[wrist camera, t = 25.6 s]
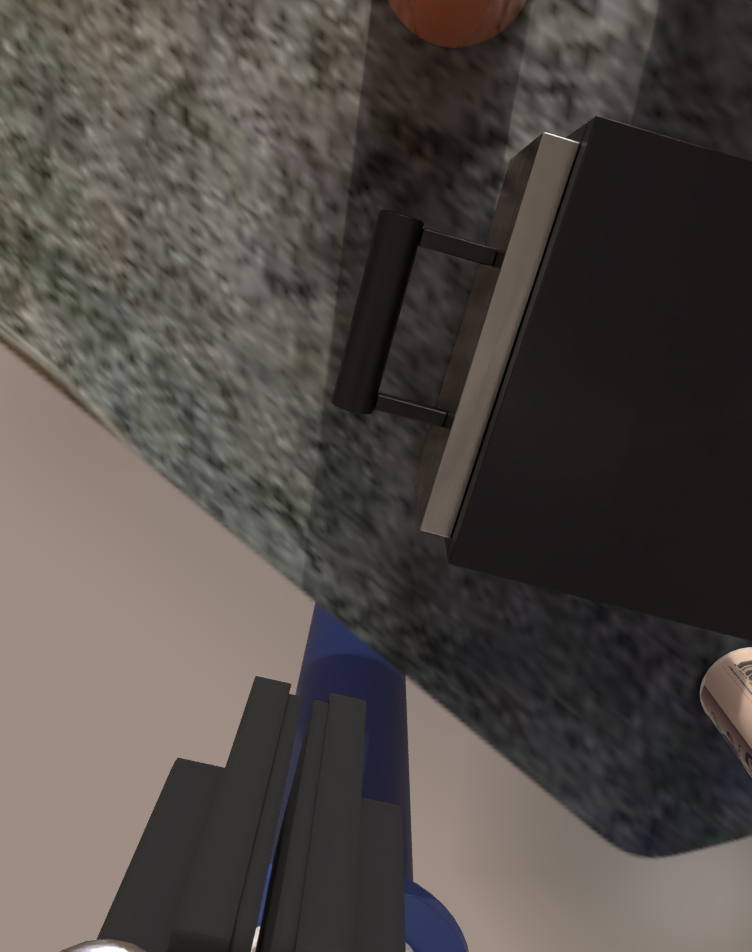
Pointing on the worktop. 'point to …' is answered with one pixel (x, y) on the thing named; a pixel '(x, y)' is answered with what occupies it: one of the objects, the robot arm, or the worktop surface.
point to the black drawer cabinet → (629, 393)
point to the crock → (456, 19)
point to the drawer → (482, 329)
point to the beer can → (731, 701)
